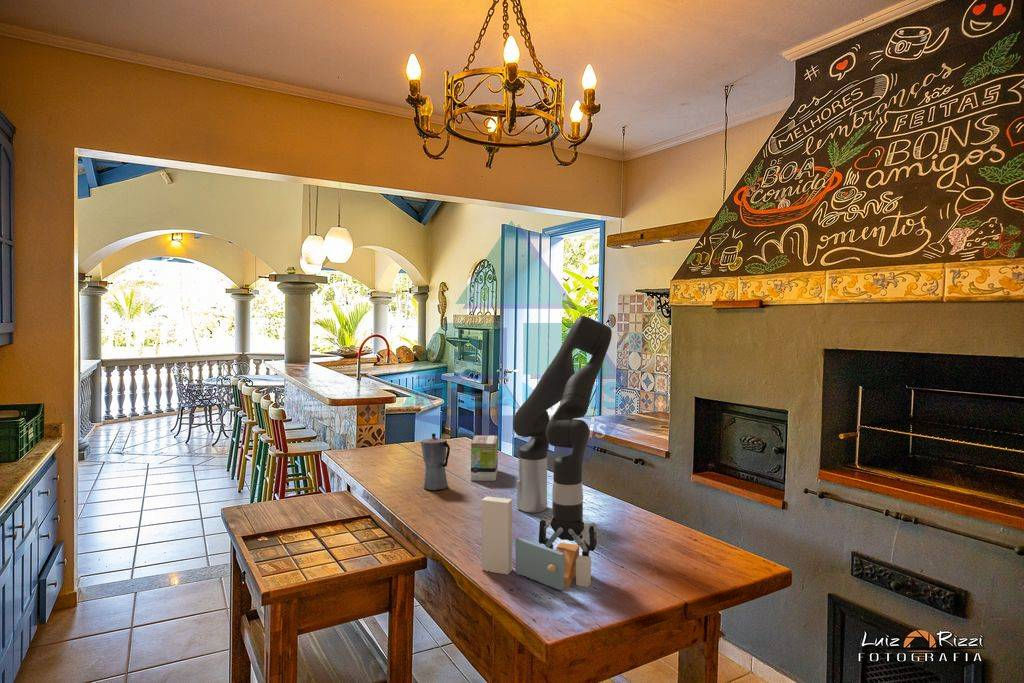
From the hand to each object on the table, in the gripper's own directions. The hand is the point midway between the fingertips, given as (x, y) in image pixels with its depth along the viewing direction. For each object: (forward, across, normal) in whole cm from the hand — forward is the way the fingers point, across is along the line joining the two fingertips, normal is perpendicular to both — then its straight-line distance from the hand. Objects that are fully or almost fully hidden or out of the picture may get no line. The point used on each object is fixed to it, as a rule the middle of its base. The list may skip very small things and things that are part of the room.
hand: (567, 562), depth 144 cm
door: (+2, -5, -8) cm, 10 cm away
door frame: (+2, -7, -5) cm, 9 cm away
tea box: (+3, -50, +72) cm, 88 cm away
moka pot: (+3, -62, +52) cm, 80 cm away
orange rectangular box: (+2, 0, -2) cm, 3 cm away
